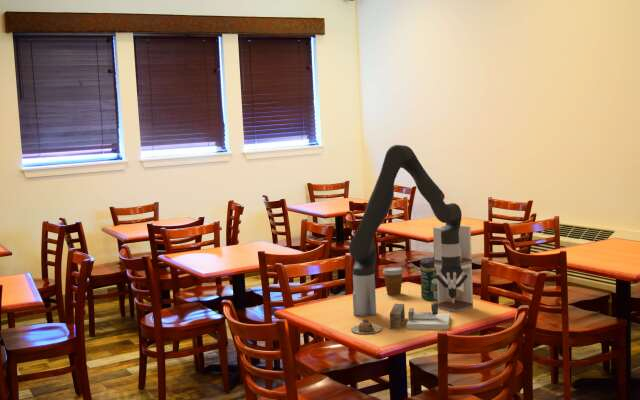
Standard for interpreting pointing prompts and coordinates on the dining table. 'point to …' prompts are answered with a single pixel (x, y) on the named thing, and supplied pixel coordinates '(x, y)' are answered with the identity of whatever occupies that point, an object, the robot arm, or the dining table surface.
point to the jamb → (397, 316)
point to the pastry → (365, 327)
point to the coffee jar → (428, 279)
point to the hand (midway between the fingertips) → (452, 297)
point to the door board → (428, 322)
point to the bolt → (427, 313)
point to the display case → (465, 290)
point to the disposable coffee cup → (393, 280)
